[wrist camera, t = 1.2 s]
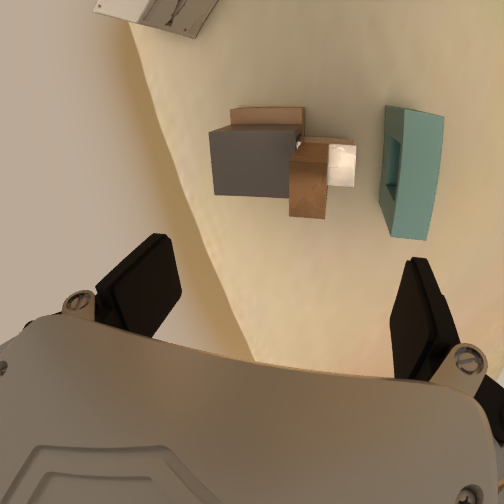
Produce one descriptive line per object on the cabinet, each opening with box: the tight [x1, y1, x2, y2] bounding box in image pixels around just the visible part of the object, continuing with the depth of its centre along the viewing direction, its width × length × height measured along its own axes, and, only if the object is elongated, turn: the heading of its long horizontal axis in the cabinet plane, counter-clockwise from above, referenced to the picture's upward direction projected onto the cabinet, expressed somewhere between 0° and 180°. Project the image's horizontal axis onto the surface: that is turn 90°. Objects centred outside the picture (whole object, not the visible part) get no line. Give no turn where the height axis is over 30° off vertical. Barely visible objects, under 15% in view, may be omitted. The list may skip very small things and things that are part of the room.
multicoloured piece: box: [289, 136, 356, 219], centre depth 25 cm, size 4×14×12 cm, turn 93°
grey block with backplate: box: [209, 107, 305, 198], centre depth 30 cm, size 10×8×9 cm
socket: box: [379, 106, 444, 241], centre depth 26 cm, size 12×4×10 cm, turn 3°
